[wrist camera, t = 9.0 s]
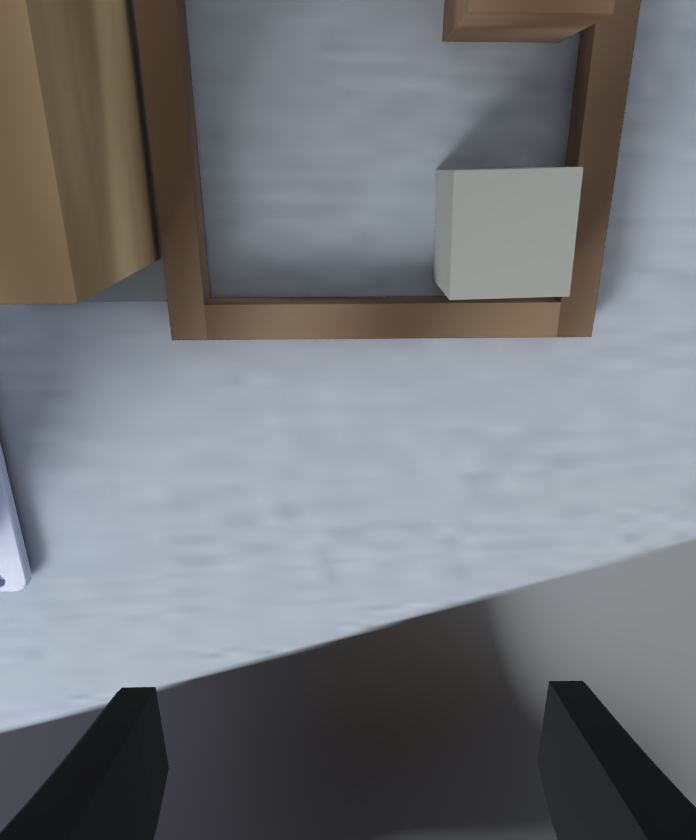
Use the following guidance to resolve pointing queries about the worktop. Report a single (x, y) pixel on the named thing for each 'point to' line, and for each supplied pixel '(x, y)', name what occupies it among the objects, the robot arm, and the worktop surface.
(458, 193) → the offcut grey
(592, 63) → the frame
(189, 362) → the worktop surface
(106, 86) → the oak board
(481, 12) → the offcut dark
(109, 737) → the robot arm
